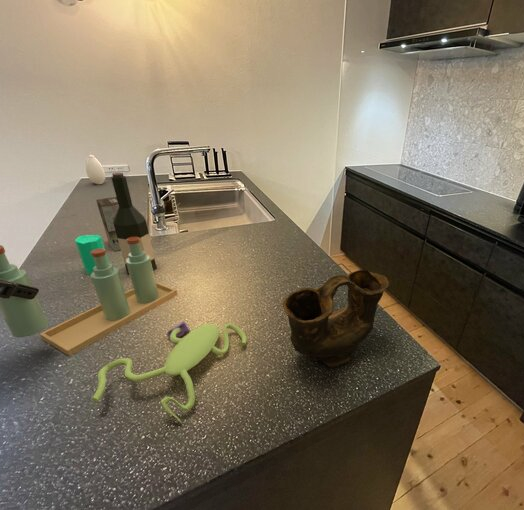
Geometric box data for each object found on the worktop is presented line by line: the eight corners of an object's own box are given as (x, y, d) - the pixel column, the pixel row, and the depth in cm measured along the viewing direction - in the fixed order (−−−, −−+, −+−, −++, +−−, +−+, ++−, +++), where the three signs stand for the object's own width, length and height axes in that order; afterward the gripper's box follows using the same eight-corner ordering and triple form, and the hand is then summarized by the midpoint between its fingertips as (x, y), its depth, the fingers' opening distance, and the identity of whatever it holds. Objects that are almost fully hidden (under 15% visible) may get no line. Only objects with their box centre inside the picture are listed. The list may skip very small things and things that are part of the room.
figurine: (82, 407, 54) (72, 385, 52) (189, 318, 77) (186, 300, 75) (168, 442, 50) (162, 420, 47) (254, 336, 73) (253, 318, 70)
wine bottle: (147, 261, 100) (125, 168, 86) (163, 269, 97) (142, 174, 83) (120, 271, 94) (91, 173, 80) (135, 280, 90) (108, 179, 76)
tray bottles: (113, 323, 73) (92, 258, 65) (100, 316, 75) (77, 252, 67) (163, 296, 84) (150, 237, 76) (150, 290, 85) (135, 232, 77)
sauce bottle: (107, 185, 169) (97, 151, 161) (89, 186, 165) (79, 151, 157) (108, 181, 175) (99, 149, 167) (91, 182, 171) (81, 149, 163)
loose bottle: (6, 339, 57) (-39, 256, 49) (20, 322, 61) (-19, 243, 54) (41, 334, 59) (3, 253, 51) (53, 318, 63) (19, 240, 55)
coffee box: (135, 246, 108) (124, 203, 101) (113, 251, 104) (100, 206, 97) (128, 238, 114) (117, 196, 107) (107, 242, 110) (94, 199, 103)
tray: (70, 357, 63) (67, 350, 63) (42, 340, 67) (39, 333, 66) (177, 295, 85) (176, 289, 84) (152, 285, 89) (151, 279, 88)
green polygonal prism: (81, 271, 92) (67, 235, 86) (100, 263, 97) (89, 228, 92) (96, 276, 91) (83, 239, 85) (115, 266, 96) (104, 231, 90)
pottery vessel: (360, 319, 82) (369, 253, 73) (388, 343, 74) (402, 274, 65) (275, 356, 68) (272, 281, 59) (299, 391, 60) (301, 311, 51)
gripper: (-73, 247, 41) (60, 282, 57) (-114, 223, 46) (19, 261, 62) (-114, 298, 39) (36, 320, 55) (-153, 268, 44) (-6, 296, 60)
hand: (26, 289), depth 58 cm, fingers closed on loose bottle, 5 cm apart
